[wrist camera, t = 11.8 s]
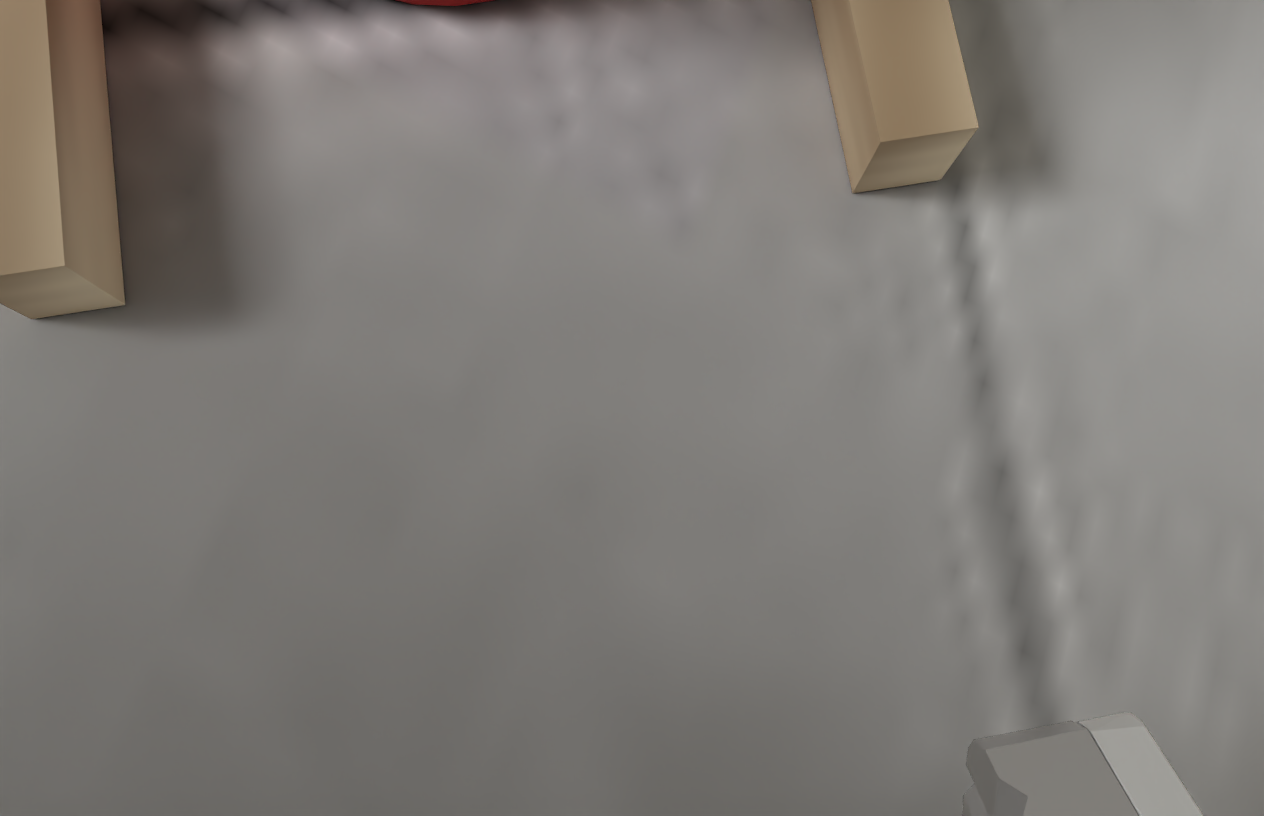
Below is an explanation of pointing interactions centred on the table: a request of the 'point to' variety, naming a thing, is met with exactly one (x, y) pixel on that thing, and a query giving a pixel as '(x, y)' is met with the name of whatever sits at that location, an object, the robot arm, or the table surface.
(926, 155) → the bay
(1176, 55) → the table surface
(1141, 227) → the table surface
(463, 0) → the canned food
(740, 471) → the table surface
